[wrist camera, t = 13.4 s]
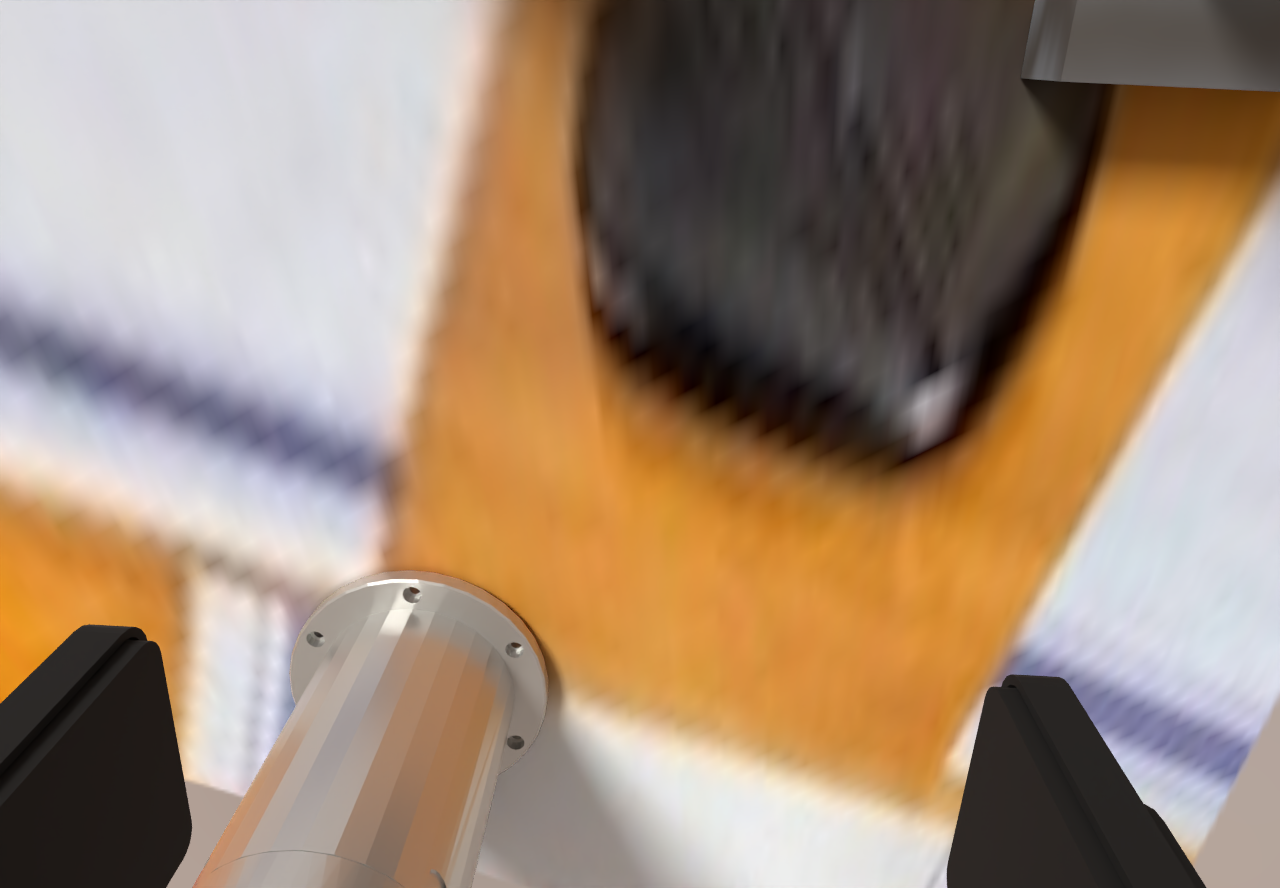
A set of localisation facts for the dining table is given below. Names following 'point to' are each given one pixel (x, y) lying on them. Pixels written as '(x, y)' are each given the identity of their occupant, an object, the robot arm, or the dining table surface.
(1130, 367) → the dining table surface
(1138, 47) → the socket stand
